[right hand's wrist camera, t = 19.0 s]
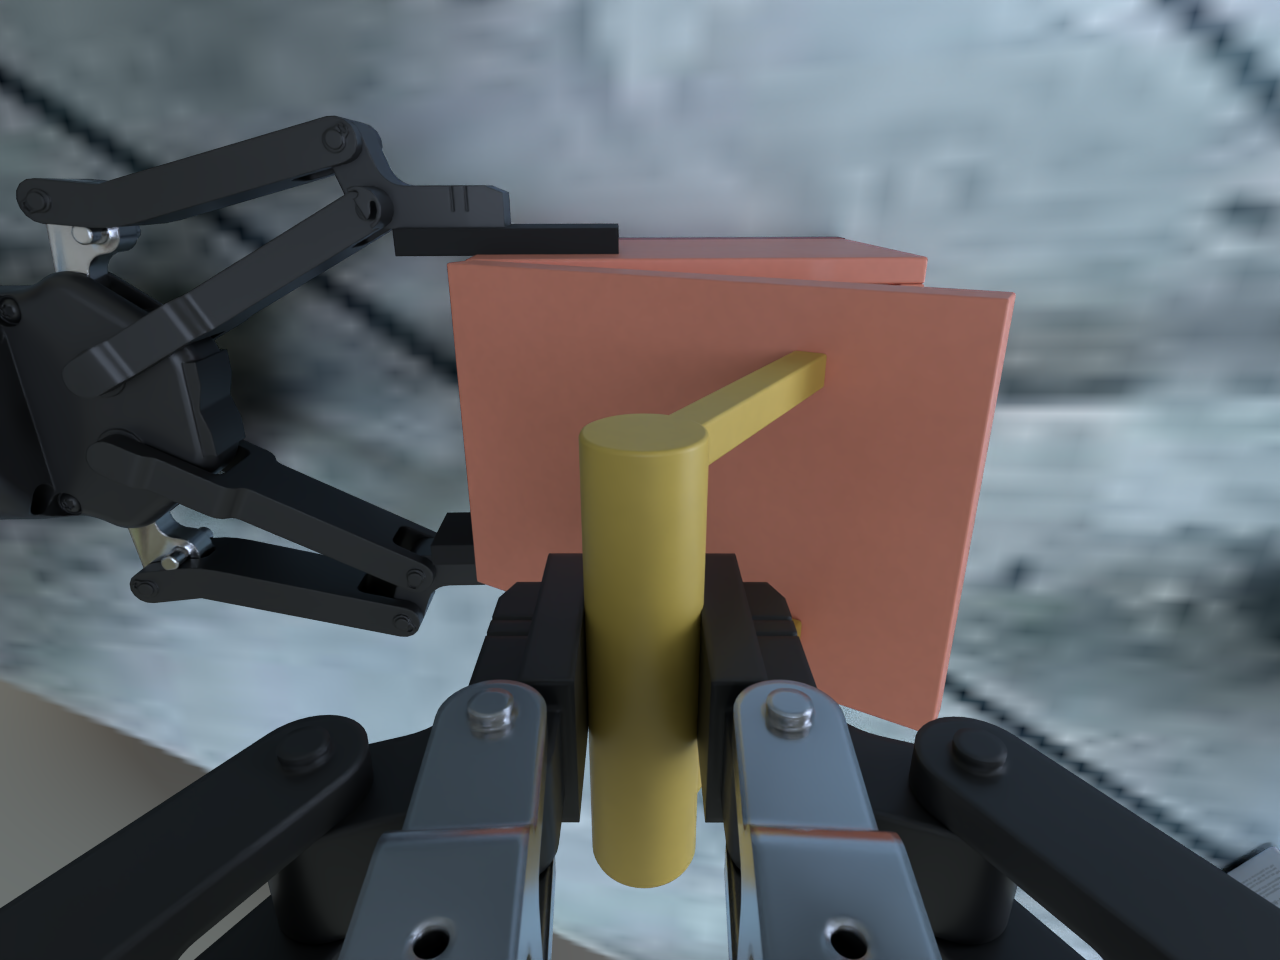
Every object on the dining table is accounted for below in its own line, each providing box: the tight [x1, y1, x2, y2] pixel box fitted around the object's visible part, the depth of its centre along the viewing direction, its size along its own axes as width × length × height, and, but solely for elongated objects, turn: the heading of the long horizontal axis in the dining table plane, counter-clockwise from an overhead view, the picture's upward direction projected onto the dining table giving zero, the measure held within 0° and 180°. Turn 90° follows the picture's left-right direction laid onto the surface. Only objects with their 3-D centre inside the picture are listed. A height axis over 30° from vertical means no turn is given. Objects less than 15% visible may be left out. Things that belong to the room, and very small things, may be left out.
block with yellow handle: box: [447, 260, 1016, 888], centre depth 15 cm, size 13×9×8 cm
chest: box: [466, 237, 927, 287], centre depth 26 cm, size 13×10×9 cm
